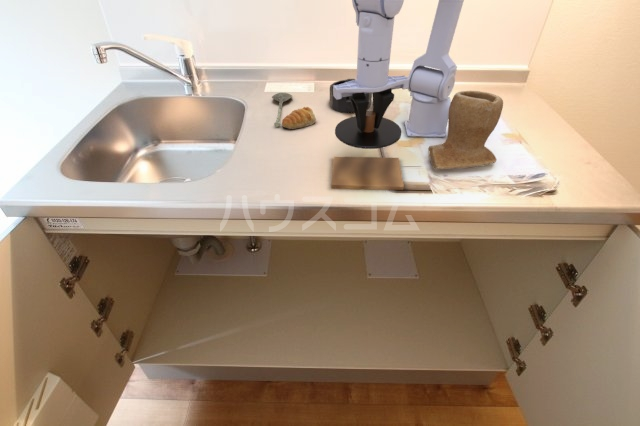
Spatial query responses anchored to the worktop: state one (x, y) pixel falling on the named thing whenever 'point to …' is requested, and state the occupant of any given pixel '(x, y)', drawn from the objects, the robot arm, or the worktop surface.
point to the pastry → (299, 118)
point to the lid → (368, 132)
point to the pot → (345, 100)
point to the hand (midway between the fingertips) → (368, 127)
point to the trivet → (367, 173)
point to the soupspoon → (280, 104)
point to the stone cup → (468, 131)
